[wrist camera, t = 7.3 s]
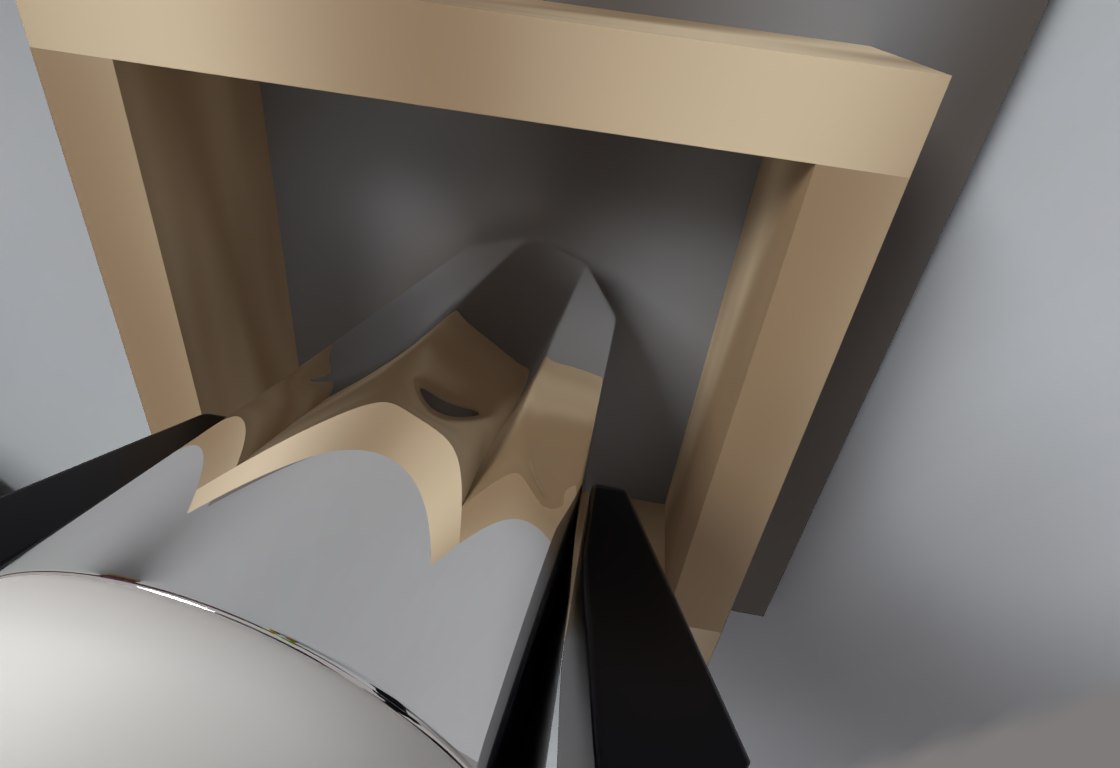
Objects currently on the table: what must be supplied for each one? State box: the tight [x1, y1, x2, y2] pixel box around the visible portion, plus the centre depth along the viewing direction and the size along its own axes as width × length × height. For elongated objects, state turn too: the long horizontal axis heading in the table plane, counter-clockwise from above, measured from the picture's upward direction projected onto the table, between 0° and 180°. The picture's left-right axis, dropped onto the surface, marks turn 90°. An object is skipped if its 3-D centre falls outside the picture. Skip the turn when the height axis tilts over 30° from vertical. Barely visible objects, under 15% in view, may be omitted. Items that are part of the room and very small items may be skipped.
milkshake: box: [0, 236, 616, 768], centre depth 7 cm, size 4×5×10 cm
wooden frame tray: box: [15, 0, 1049, 666], centre depth 11 cm, size 14×14×3 cm
